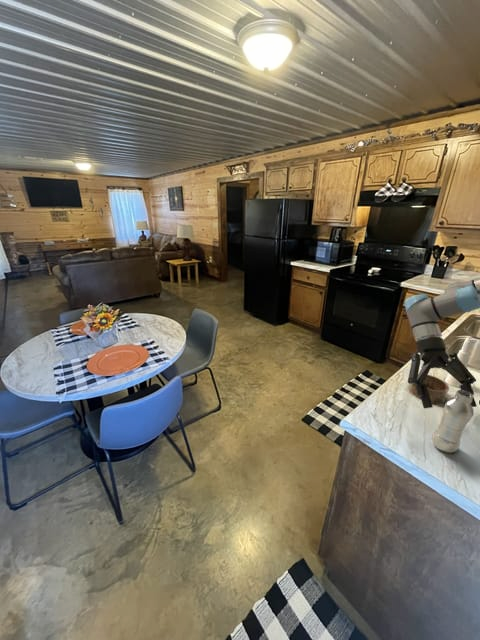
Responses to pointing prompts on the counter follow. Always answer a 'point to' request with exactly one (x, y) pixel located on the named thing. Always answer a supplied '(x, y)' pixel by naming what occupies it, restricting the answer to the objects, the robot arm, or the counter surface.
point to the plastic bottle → (453, 422)
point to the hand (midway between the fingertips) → (450, 407)
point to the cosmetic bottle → (462, 360)
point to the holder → (438, 389)
